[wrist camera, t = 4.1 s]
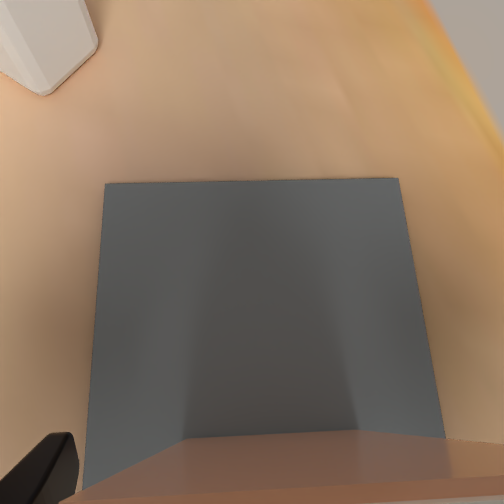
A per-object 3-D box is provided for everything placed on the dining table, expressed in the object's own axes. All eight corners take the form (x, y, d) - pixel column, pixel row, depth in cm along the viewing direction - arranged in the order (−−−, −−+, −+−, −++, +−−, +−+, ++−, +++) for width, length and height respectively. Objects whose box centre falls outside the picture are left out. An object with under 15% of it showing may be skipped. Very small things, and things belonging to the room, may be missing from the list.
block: (368, 500, 14) (868, 803, 3) (180, 513, 14) (-22, 903, 3) (360, 429, 15) (738, 465, 4) (181, 438, 15) (23, 508, 4)
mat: (464, 573, 14) (471, 577, 14) (77, 602, 13) (73, 607, 13) (394, 182, 19) (398, 178, 19) (107, 188, 18) (105, 183, 18)
